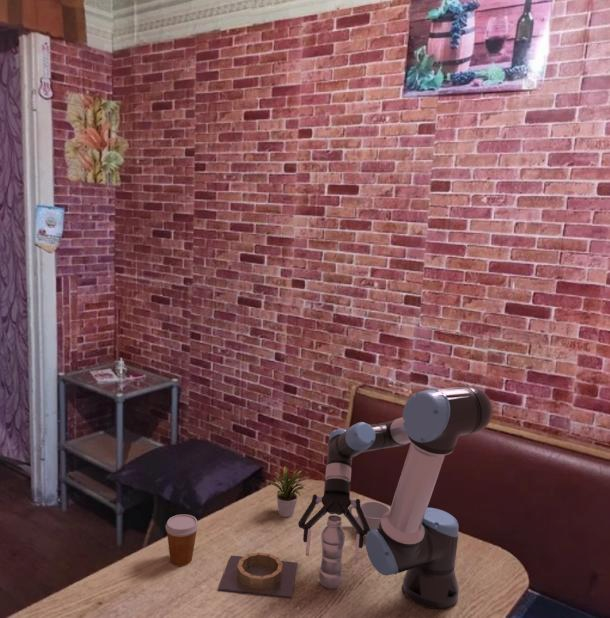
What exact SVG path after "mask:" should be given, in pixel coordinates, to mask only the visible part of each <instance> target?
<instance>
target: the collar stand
mask: <svg viewBox="0 0 610 618" xmlns="http://www.w3.org/2000/svg"><path fill="white" fill-rule="evenodd" d="M298 565H299V563H298V561H297V562H295V561H287V560H281V559H280V558H279V557H277V556H275V555H273V554H271V553H267V552H254V553H247V554H246V555H244V556H241V555H240V556H239V555H234V554H233V555H230V557H229V560H228V562H227V565H226V566H225V570H224V573H223V575H222V578H221V580H220V583H219V586H218V587H217V591H220V592H229V593H238V594H246V595H247V594H248V595H257V596H265V597H274V598H282V599H283V598H284V599H289V600H291V599H292V597H293V592H294V586H295V580H296V576H297V570H298Z"/></svg>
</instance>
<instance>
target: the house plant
mask: <svg viewBox="0 0 610 618" xmlns="http://www.w3.org/2000/svg"><path fill="white" fill-rule="evenodd" d="M295 469H296V470H295V471H293V474H292V475H289V470H288V468H287V467H286V466H285V465H284V467H283V474H282V475H281V474H279V473H278V472H276V471H274V474H275V475H276V478H273V479H274V480H275V482H271V483H269V484H270V485H271V486H274V487H276V488H278V490H277V492H276V493H277V495H276V501H277V508H278V515H280V516H281V517H284V518H290V517H293V516H294V514H295V510H296V505H297V500H298V496H299V497H301V493H300V492H299V490H306V486H308V485H306V484H305V485H304V484H302V483H300V482H302V481H307V478H309V476H303V477H301V478H299V476H300V474H301V473H302V471H303V469H301V470H299V471H298V468H295ZM281 476H282V477H281ZM298 478H299V479H298ZM276 482H277V483H276Z"/></svg>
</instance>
